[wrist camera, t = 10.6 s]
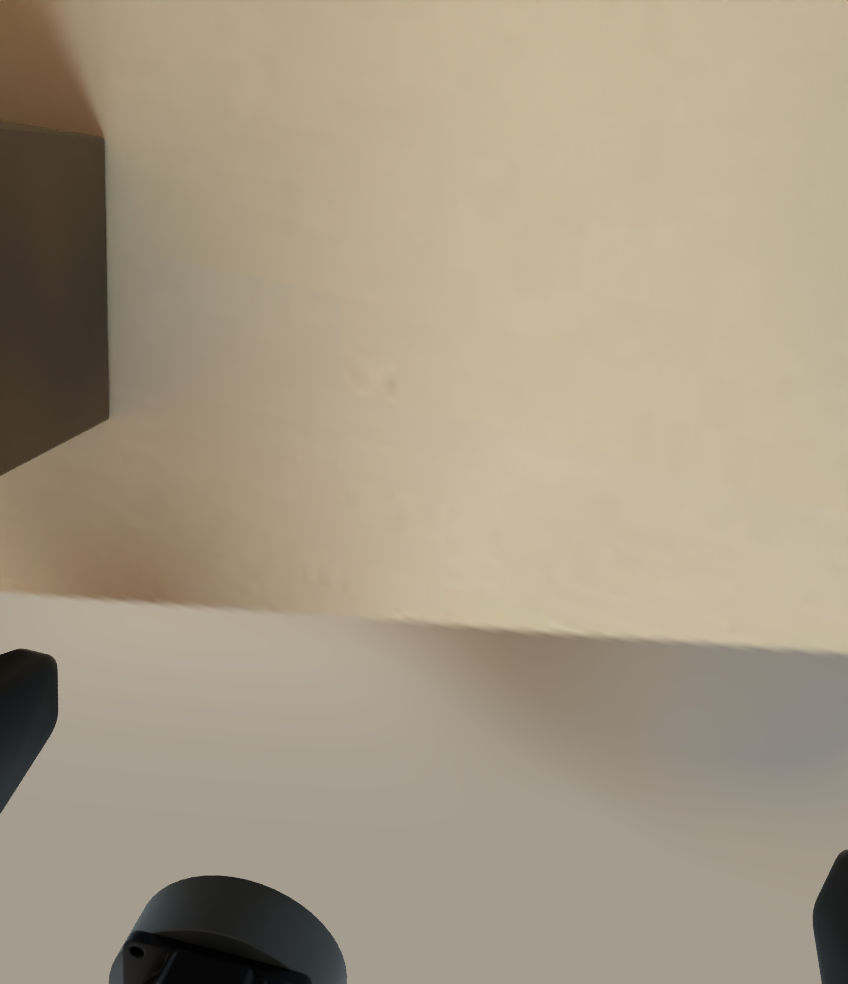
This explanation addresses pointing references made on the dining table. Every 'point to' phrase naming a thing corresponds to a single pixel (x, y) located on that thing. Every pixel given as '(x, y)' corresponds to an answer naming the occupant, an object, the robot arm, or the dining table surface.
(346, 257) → the dining table surface
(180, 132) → the dining table surface
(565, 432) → the dining table surface
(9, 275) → the stand
